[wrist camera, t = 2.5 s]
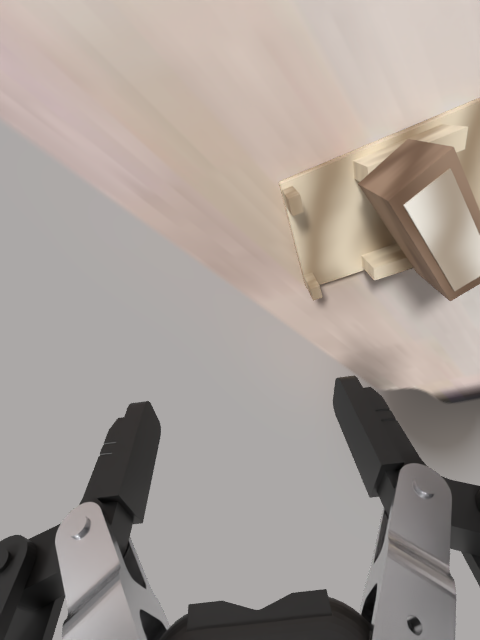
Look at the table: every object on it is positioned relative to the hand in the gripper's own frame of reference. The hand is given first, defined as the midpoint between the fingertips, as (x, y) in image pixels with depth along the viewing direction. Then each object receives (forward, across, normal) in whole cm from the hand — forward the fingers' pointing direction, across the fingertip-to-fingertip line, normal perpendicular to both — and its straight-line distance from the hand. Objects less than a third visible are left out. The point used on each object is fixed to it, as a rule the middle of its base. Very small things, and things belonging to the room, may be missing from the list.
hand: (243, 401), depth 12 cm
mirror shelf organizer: (+20, -16, -2) cm, 26 cm away
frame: (+16, -16, -2) cm, 23 cm away
